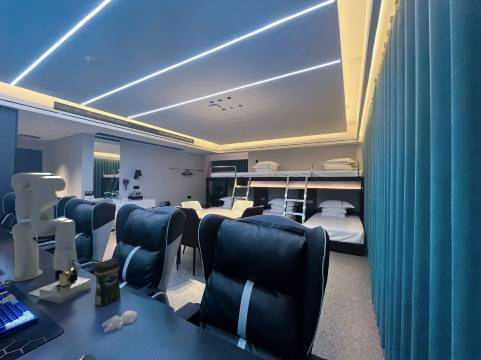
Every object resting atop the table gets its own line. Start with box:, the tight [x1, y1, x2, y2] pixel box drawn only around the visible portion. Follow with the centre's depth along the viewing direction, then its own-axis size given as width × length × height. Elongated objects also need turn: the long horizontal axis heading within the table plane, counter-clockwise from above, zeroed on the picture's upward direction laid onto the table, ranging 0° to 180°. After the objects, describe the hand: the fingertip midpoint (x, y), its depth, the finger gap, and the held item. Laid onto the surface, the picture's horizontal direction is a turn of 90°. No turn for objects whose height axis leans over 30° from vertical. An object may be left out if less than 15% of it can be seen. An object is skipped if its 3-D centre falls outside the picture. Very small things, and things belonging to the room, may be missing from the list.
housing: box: [38, 276, 92, 305], centre depth 104 cm, size 14×14×4 cm
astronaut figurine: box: [101, 310, 138, 334], centre depth 83 cm, size 9×12×3 cm
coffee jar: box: [93, 257, 121, 307], centre depth 97 cm, size 10×8×19 cm
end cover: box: [58, 271, 73, 288], centre depth 104 cm, size 5×5×10 cm
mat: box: [27, 284, 49, 298], centre depth 106 cm, size 8×8×1 cm
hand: (66, 280), depth 104 cm, fingers open, 9 cm apart
